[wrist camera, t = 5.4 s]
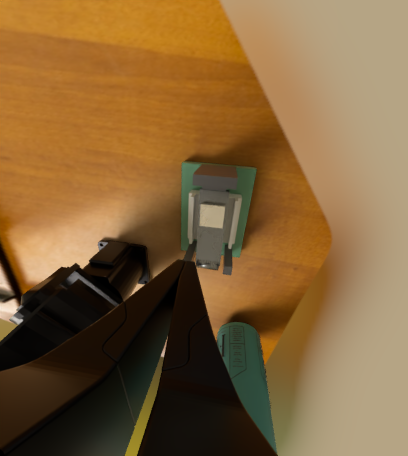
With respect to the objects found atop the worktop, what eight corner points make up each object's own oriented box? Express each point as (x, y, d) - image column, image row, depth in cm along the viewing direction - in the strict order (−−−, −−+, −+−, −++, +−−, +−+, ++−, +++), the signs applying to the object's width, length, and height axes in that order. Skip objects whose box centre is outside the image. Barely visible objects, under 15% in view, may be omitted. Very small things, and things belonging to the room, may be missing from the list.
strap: (219, 265, 19) (218, 273, 18) (196, 262, 19) (194, 270, 18) (229, 189, 15) (229, 193, 14) (201, 186, 16) (199, 190, 14)
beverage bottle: (221, 307, 27) (206, 622, 10) (265, 317, 27) (331, 657, 10) (213, 333, 30) (191, 608, 13) (253, 342, 30) (285, 633, 13)
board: (239, 251, 22) (241, 286, 17) (183, 244, 23) (169, 276, 18) (255, 167, 18) (265, 181, 13) (184, 160, 18) (167, 171, 13)
